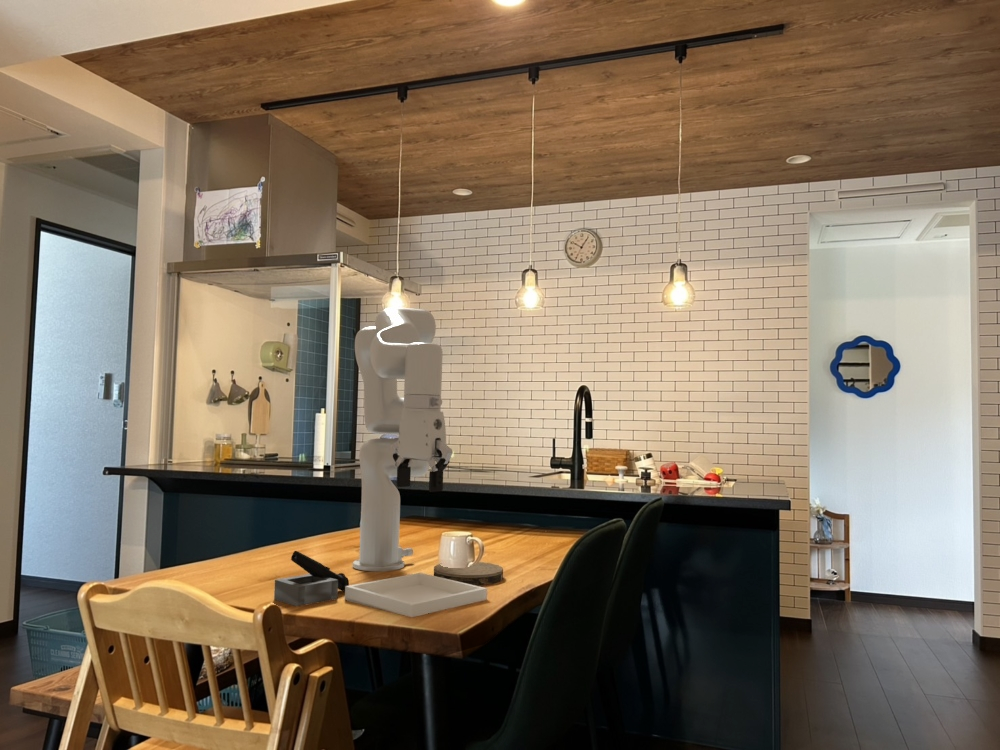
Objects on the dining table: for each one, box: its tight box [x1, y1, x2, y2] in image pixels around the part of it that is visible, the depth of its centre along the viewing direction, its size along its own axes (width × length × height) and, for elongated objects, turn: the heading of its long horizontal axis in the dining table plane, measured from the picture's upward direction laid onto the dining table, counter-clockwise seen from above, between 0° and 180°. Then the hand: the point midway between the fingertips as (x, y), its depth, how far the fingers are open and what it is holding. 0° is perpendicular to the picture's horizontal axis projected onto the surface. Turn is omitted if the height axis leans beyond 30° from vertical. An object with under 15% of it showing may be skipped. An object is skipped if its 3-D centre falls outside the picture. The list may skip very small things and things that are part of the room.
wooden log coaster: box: [433, 561, 504, 586], centre depth 175 cm, size 16×16×3 cm
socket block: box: [273, 573, 339, 607], centre depth 153 cm, size 9×8×4 cm
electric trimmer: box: [290, 550, 350, 593], centre depth 156 cm, size 4×16×3 cm, turn 135°
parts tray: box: [344, 572, 488, 618], centre depth 153 cm, size 20×20×3 cm
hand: (419, 488), depth 154 cm, fingers open, 9 cm apart
